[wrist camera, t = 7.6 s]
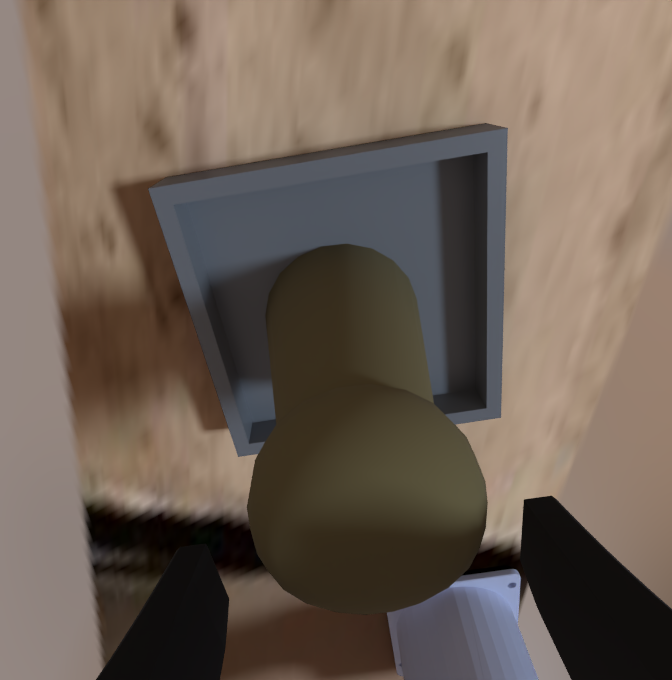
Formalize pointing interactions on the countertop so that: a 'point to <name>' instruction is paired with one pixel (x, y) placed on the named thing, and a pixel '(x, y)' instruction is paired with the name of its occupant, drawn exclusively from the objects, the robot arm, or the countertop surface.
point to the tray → (357, 229)
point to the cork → (359, 444)
